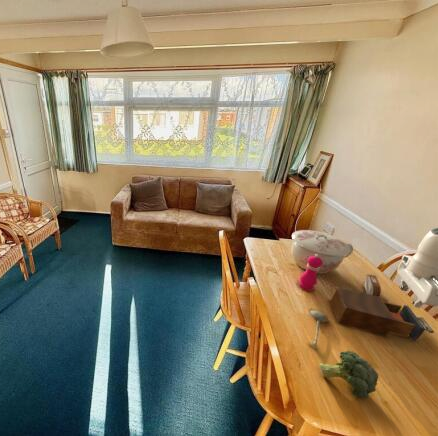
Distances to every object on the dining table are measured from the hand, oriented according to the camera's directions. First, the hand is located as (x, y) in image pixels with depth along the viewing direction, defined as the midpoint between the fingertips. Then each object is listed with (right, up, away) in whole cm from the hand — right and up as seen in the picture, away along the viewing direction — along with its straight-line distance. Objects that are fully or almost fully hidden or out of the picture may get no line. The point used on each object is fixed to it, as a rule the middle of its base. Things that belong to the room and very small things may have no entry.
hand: (409, 297), depth 89 cm
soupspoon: (-32, -16, +6) cm, 36 cm away
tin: (+8, -7, +25) cm, 27 cm away
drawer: (0, -14, +7) cm, 15 cm away
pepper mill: (-20, -5, +29) cm, 36 cm away
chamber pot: (-6, +3, +45) cm, 46 cm away
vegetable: (-37, -24, -12) cm, 46 cm away
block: (0, -13, +6) cm, 14 cm away
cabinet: (-11, -13, +11) cm, 20 cm away
